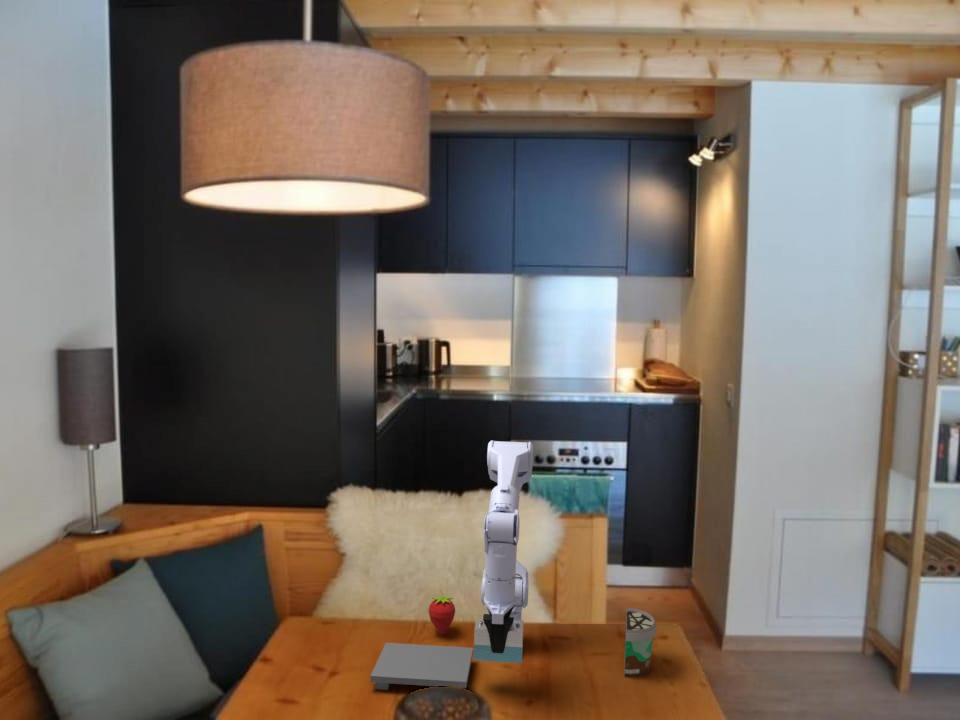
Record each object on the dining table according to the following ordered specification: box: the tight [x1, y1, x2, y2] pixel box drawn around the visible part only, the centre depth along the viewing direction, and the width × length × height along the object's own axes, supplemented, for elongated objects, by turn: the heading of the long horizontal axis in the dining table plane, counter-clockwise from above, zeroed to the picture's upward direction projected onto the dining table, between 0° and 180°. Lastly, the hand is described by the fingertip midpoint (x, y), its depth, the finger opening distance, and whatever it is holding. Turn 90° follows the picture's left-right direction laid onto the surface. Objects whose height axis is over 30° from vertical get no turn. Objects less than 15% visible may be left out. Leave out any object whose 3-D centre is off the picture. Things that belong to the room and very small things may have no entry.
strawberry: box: [428, 589, 456, 636], centre depth 163 cm, size 6×8×10 cm
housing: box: [473, 617, 524, 664], centre depth 140 cm, size 5×9×6 cm, turn 86°
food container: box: [623, 607, 658, 678], centre depth 150 cm, size 12×6×10 cm, turn 168°
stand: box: [369, 642, 474, 691], centre depth 145 cm, size 14×18×3 cm
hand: (498, 645), depth 140 cm, fingers closed on housing, 5 cm apart
